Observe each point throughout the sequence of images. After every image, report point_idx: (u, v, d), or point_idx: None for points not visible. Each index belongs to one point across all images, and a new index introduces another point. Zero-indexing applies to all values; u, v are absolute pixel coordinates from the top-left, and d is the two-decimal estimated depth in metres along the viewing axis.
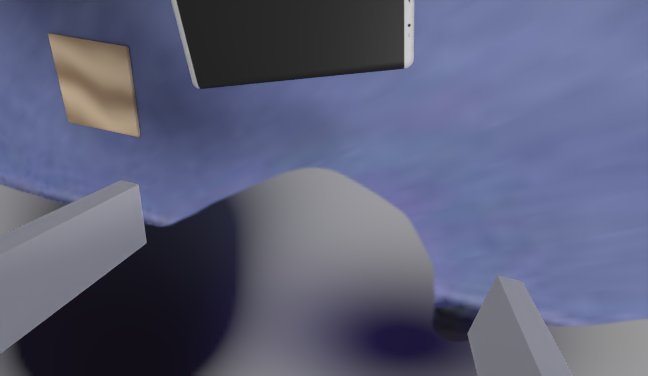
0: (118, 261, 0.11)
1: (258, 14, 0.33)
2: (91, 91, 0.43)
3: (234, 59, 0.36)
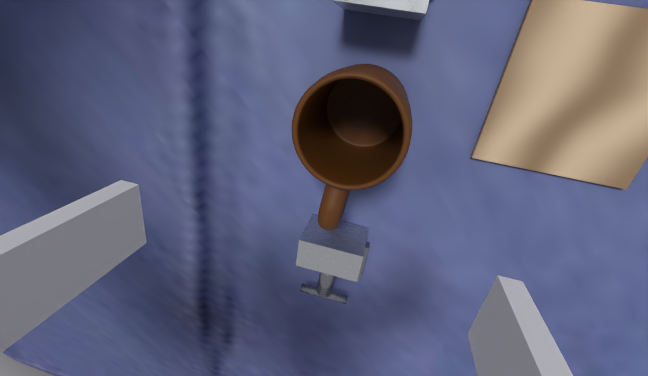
0: (118, 261, 0.11)
1: None
2: (588, 111, 0.23)
3: None
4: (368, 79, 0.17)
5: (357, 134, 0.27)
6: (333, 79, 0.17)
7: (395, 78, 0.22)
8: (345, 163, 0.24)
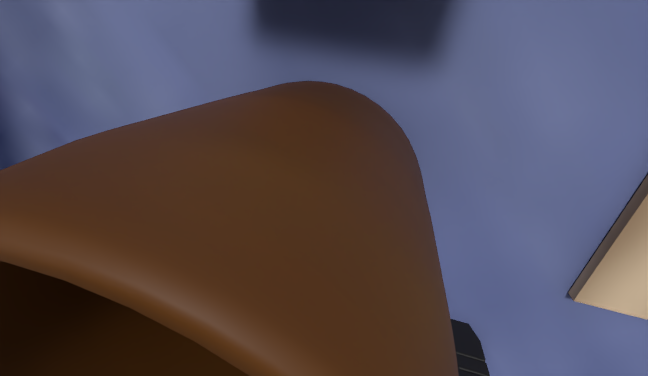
0: None
1: None
2: None
3: None
4: (114, 294, 0.02)
5: None
6: None
7: (386, 131, 0.07)
8: None
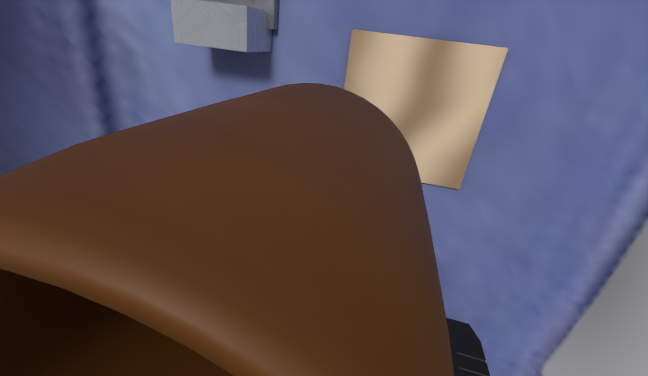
0: None
1: None
2: (414, 123, 0.27)
3: None
4: (110, 302, 0.02)
5: None
6: None
7: (384, 134, 0.07)
8: None
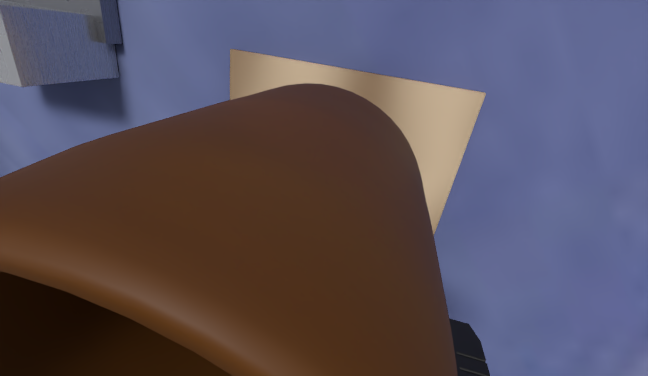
0: None
1: None
2: None
3: None
4: (114, 305, 0.02)
5: None
6: None
7: (386, 134, 0.07)
8: None
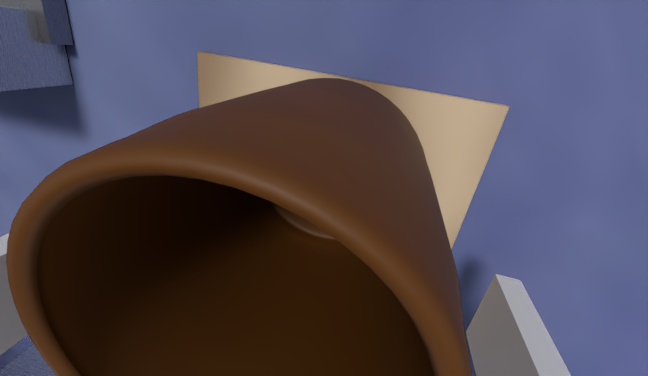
0: None
1: None
2: None
3: None
4: (258, 193, 0.03)
5: None
6: (97, 178, 0.03)
7: (398, 120, 0.08)
8: (275, 318, 0.10)
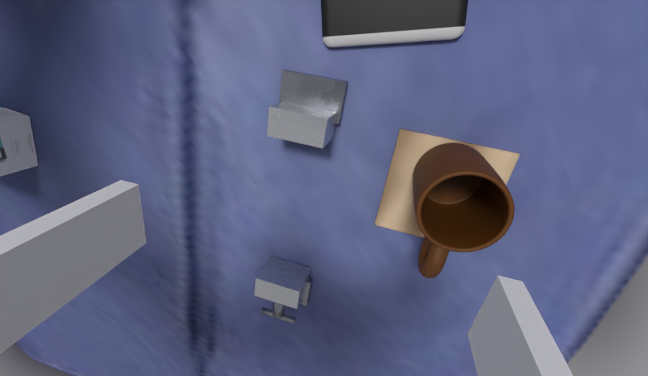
0: (118, 261, 0.11)
1: None
2: None
3: None
4: (486, 177, 0.23)
5: (440, 193, 0.33)
6: (458, 175, 0.23)
7: (486, 160, 0.28)
8: (441, 223, 0.29)
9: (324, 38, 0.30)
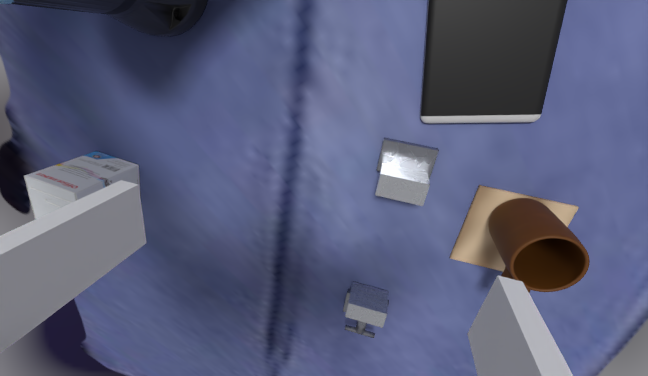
0: (118, 261, 0.11)
1: (488, 22, 0.32)
2: None
3: (525, 60, 0.33)
4: (570, 241, 0.31)
5: None
6: (548, 238, 0.31)
7: None
8: (518, 264, 0.37)
9: (422, 117, 0.37)
